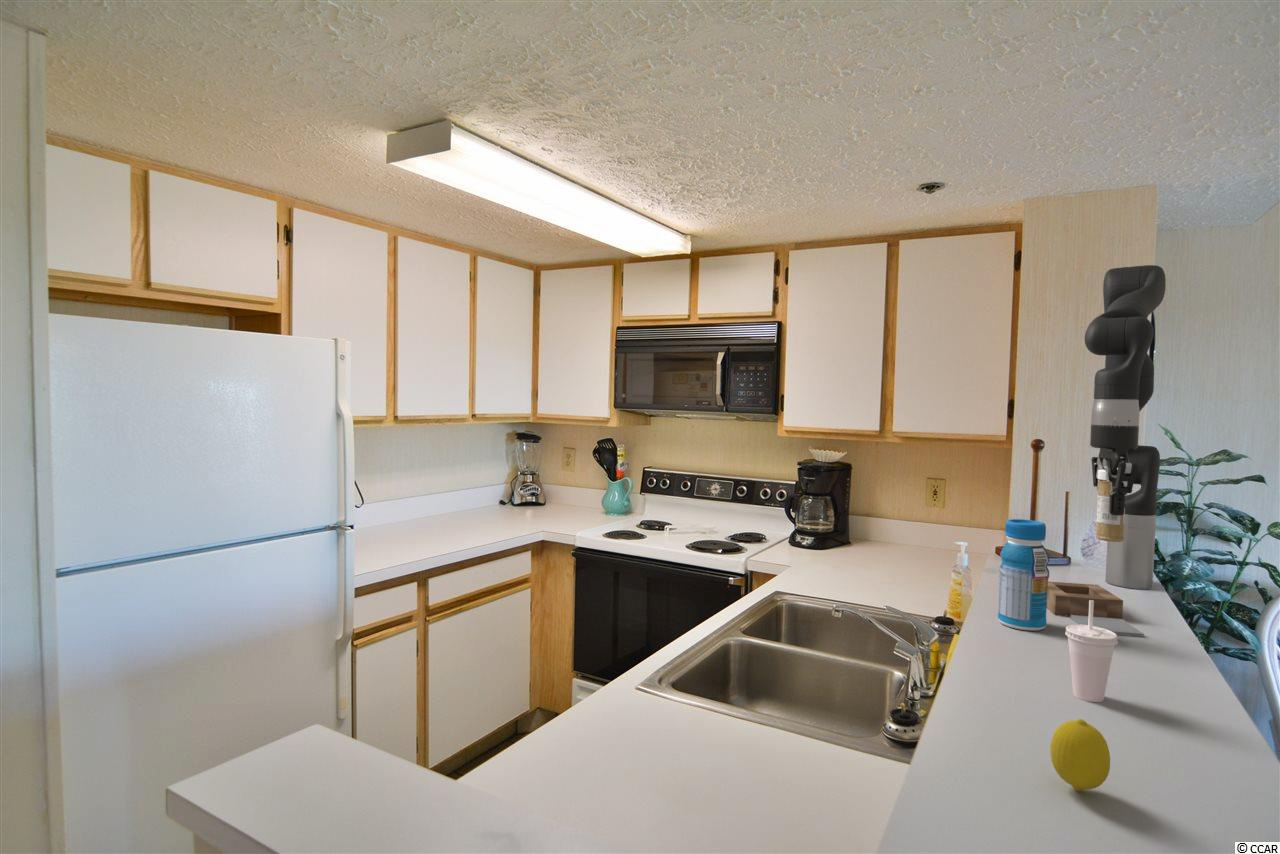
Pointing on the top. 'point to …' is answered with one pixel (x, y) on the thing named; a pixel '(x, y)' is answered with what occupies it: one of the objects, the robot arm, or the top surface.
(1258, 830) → the top surface
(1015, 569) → the beverage bottle
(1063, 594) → the walnut socket block
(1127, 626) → the slate pad
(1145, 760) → the top surface
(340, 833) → the top surface
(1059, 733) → the lemon
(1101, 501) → the sprinkles bottle
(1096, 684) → the smoothie
